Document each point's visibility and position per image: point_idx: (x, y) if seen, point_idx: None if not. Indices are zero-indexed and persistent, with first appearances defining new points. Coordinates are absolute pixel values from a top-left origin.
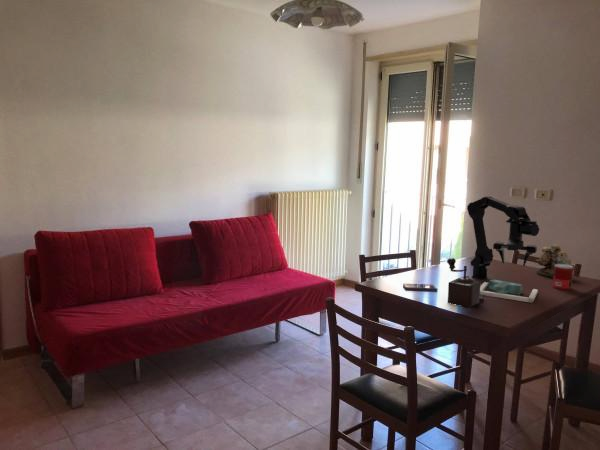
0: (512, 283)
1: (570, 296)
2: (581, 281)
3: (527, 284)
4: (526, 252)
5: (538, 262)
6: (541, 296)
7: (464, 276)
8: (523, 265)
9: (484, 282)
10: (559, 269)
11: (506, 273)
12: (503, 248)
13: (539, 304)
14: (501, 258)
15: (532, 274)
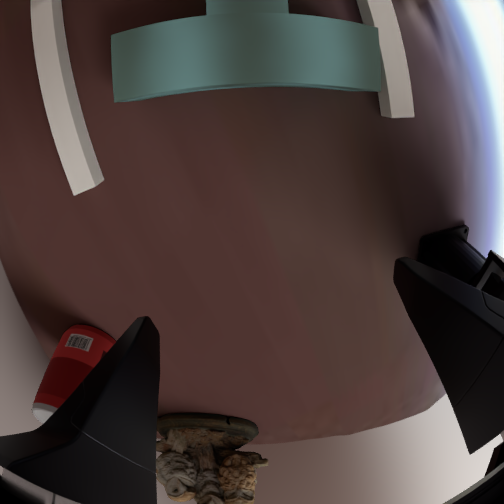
0: (191, 66)
1: (3, 251)
2: None
3: (208, 308)
4: (56, 493)
5: (258, 458)
6: (41, 136)
7: None
8: (142, 319)
9: (409, 106)
10: (56, 399)
11: (344, 379)
12: (477, 449)
13: (16, 9)
14: (463, 283)
15: (262, 414)
